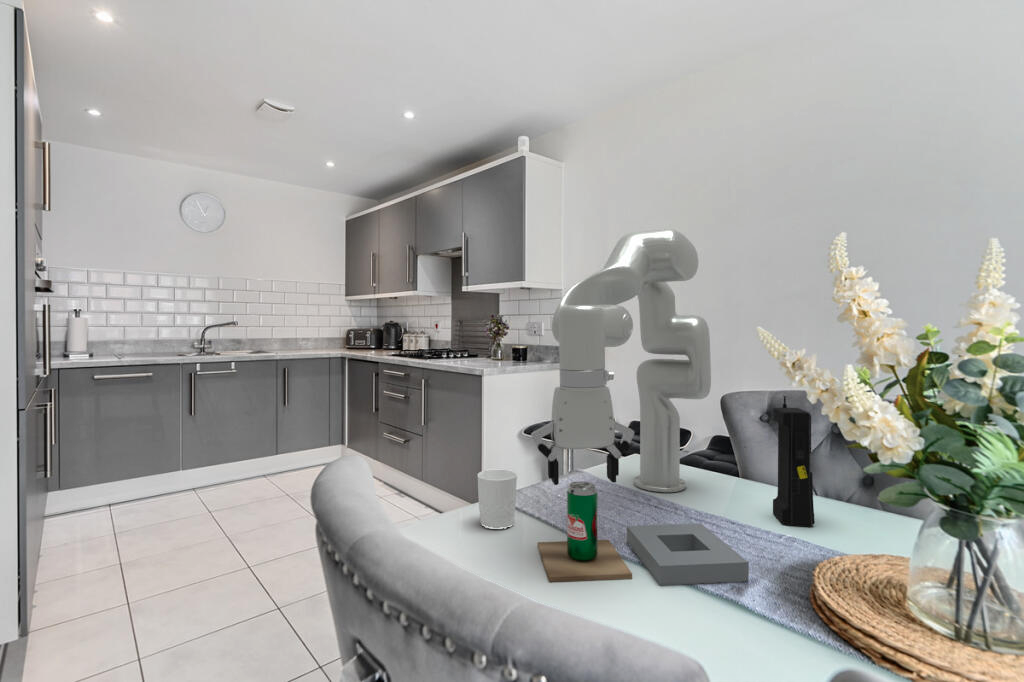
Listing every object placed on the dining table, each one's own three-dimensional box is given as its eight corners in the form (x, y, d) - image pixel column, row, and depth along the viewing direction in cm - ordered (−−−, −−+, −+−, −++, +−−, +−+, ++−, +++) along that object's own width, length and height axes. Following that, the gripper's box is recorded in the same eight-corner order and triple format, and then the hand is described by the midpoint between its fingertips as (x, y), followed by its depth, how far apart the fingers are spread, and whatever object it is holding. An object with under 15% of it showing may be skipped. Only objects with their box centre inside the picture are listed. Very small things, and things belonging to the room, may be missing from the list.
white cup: (469, 523, 102) (469, 473, 102) (500, 514, 107) (500, 467, 107) (493, 535, 96) (493, 482, 96) (525, 525, 101) (525, 475, 101)
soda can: (560, 555, 85) (560, 484, 85) (580, 547, 89) (580, 478, 88) (583, 566, 81) (583, 491, 81) (603, 557, 85) (603, 485, 85)
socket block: (626, 542, 93) (626, 525, 93) (700, 539, 94) (700, 523, 94) (660, 585, 77) (660, 565, 77) (748, 581, 78) (748, 562, 78)
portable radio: (818, 530, 99) (819, 401, 98) (784, 527, 100) (785, 400, 99) (803, 515, 106) (804, 396, 106) (772, 513, 107) (773, 395, 107)
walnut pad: (537, 546, 91) (537, 542, 91) (608, 544, 92) (608, 539, 92) (549, 582, 78) (549, 577, 78) (632, 578, 79) (632, 573, 79)
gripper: (626, 375, 89) (626, 472, 90) (527, 378, 88) (529, 476, 88) (640, 380, 82) (641, 486, 82) (533, 383, 80) (535, 491, 81)
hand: (583, 481), depth 85 cm, fingers open, 9 cm apart
